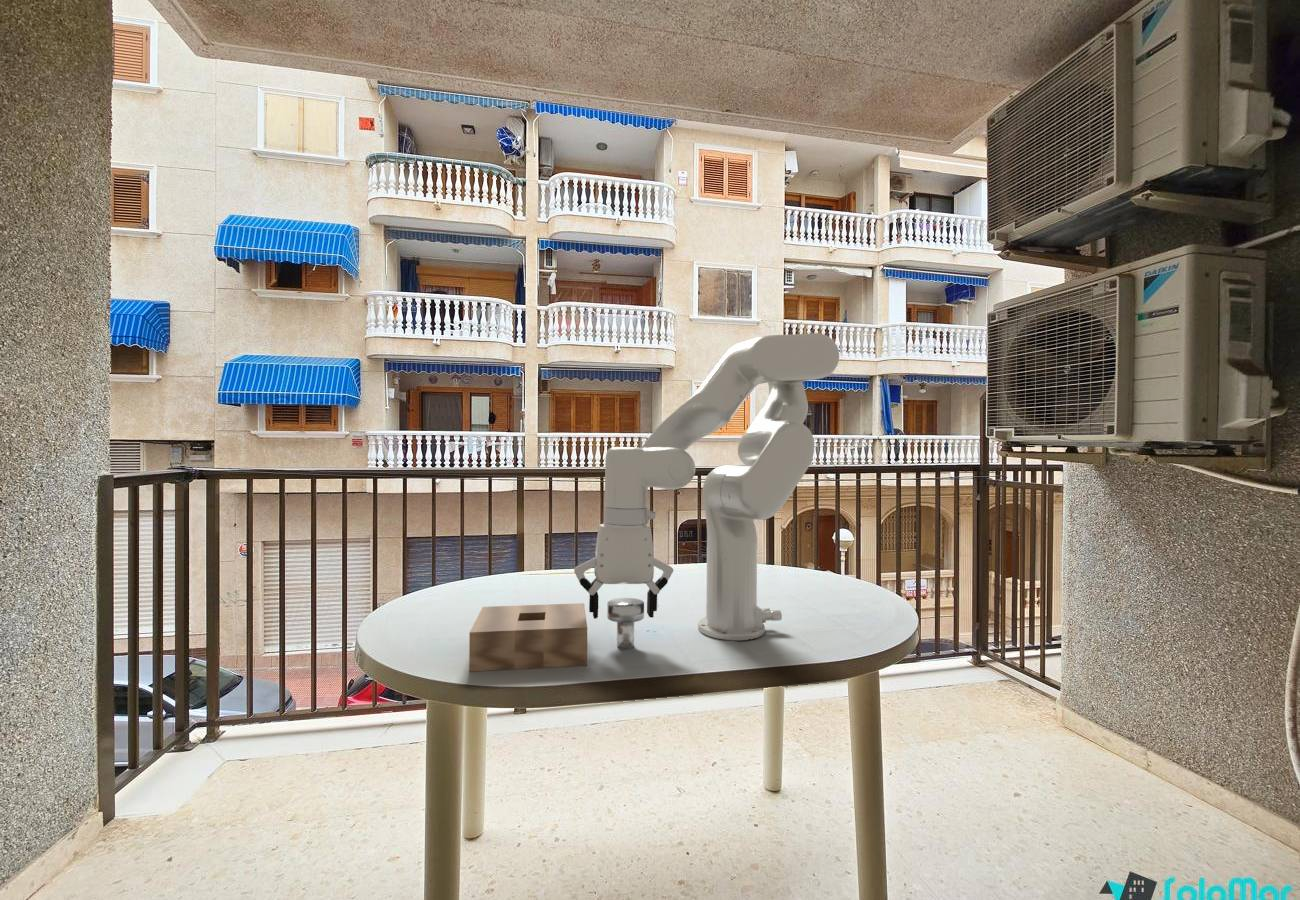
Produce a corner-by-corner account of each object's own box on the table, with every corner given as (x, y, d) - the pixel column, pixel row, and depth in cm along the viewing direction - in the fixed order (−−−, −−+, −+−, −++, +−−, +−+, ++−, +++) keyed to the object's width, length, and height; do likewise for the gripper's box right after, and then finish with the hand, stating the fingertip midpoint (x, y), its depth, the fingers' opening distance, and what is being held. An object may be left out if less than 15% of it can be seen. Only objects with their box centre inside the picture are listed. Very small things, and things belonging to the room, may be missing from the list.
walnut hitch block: (583, 635, 102) (584, 603, 102) (587, 665, 88) (587, 627, 88) (482, 640, 99) (482, 606, 99) (469, 671, 85) (469, 632, 85)
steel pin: (641, 638, 101) (641, 597, 101) (646, 651, 94) (646, 607, 94) (605, 640, 100) (606, 598, 100) (608, 653, 93) (608, 608, 93)
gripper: (670, 515, 102) (667, 609, 102) (575, 514, 99) (572, 610, 99) (678, 520, 94) (675, 621, 94) (576, 519, 92) (573, 623, 92)
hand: (622, 615), depth 97 cm, fingers open, 9 cm apart
